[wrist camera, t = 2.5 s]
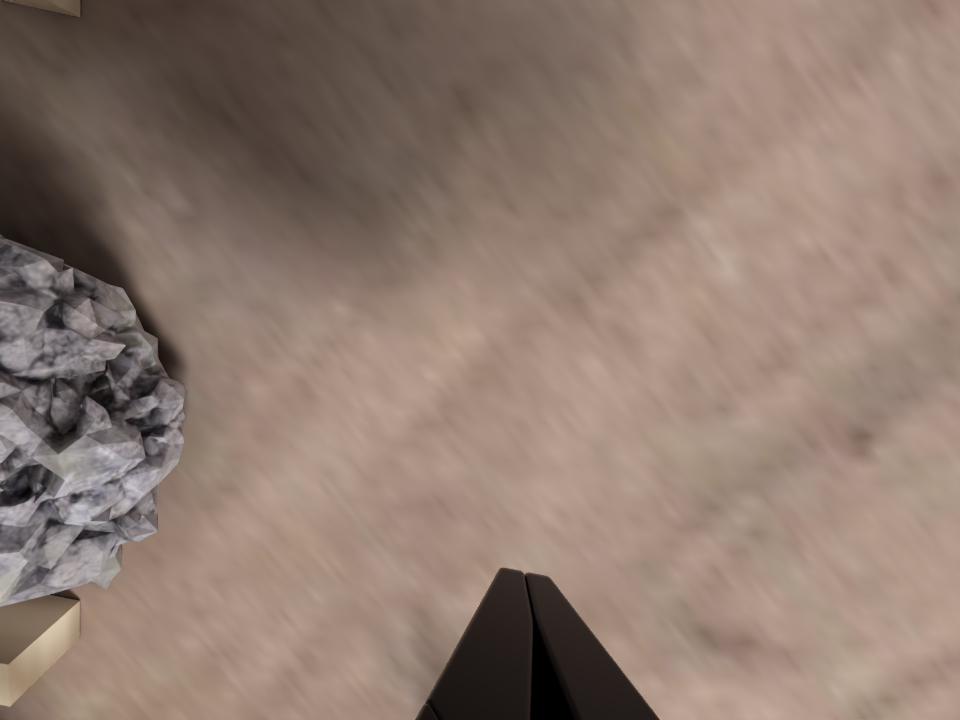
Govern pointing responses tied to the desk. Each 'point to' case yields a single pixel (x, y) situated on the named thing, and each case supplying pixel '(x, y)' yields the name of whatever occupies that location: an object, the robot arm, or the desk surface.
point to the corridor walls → (48, 619)
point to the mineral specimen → (76, 426)
